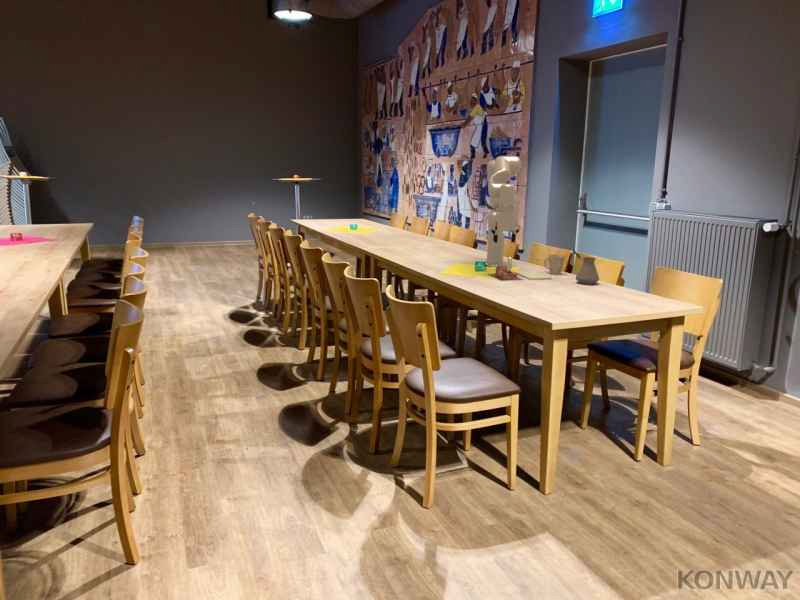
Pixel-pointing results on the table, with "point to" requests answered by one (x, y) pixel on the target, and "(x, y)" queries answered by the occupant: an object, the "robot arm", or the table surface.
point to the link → (505, 273)
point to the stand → (507, 271)
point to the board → (532, 275)
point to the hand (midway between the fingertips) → (504, 242)
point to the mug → (555, 264)
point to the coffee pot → (587, 271)
